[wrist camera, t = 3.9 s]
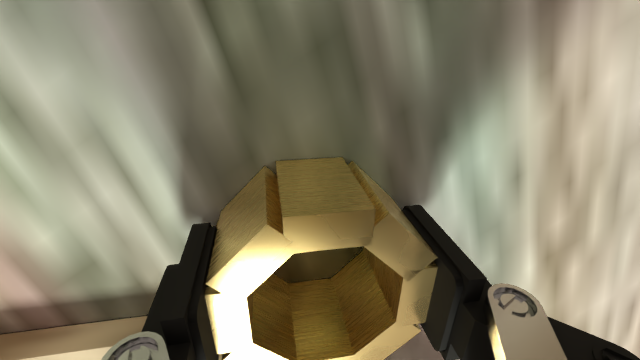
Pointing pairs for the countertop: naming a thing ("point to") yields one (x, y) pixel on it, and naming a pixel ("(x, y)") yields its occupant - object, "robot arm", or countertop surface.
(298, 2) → the countertop surface
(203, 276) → the robot arm
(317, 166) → the ring
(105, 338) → the beige flat block
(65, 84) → the countertop surface
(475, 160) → the countertop surface
